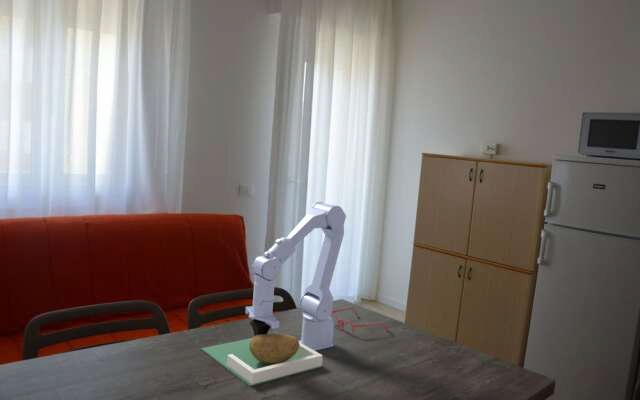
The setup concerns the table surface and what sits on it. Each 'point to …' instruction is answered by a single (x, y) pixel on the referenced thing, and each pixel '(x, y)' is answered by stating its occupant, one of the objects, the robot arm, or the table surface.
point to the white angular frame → (276, 366)
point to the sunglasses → (350, 322)
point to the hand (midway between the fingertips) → (259, 345)
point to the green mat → (242, 357)
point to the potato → (273, 348)
